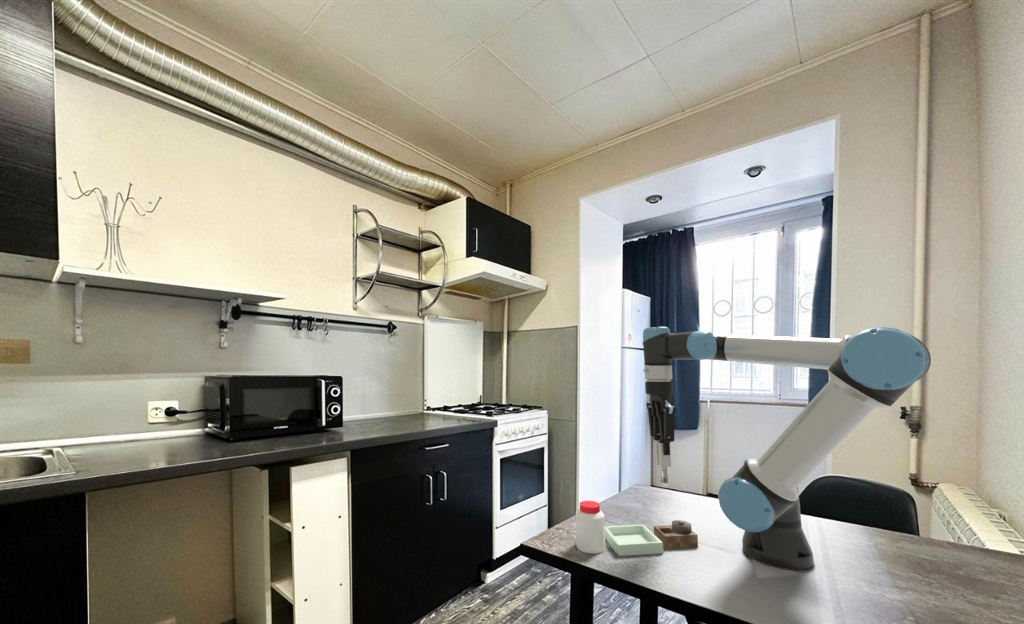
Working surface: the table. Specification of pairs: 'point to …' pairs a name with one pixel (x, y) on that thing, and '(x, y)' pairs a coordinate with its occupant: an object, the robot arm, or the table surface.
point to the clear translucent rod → (663, 471)
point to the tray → (633, 540)
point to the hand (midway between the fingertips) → (663, 465)
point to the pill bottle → (590, 528)
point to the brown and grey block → (676, 535)
